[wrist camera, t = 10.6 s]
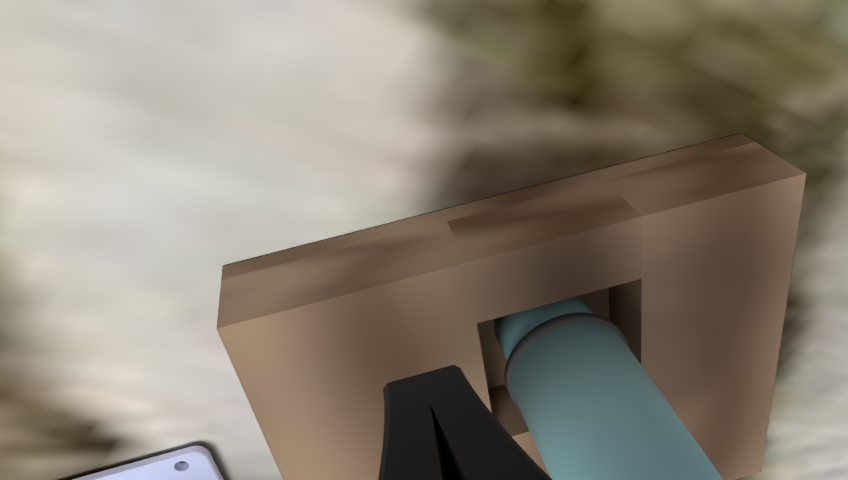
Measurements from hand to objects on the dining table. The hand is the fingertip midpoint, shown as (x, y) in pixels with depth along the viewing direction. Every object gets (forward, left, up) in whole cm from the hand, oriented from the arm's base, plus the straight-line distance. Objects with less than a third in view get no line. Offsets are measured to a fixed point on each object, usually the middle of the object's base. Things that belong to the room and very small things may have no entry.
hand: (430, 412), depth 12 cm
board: (+4, -9, -10) cm, 14 cm away
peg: (+5, -7, -10) cm, 13 cm away
